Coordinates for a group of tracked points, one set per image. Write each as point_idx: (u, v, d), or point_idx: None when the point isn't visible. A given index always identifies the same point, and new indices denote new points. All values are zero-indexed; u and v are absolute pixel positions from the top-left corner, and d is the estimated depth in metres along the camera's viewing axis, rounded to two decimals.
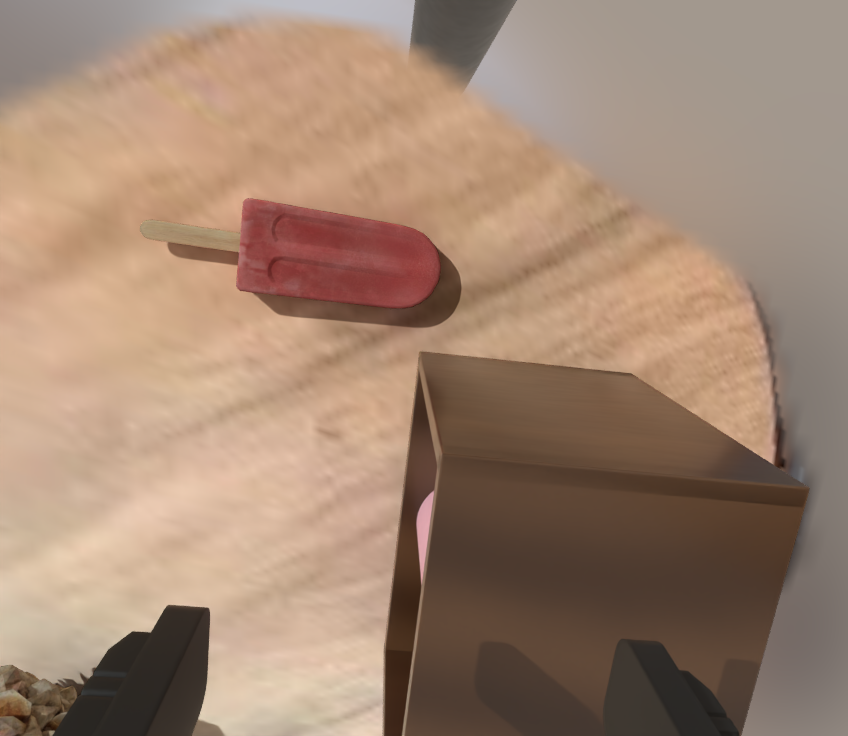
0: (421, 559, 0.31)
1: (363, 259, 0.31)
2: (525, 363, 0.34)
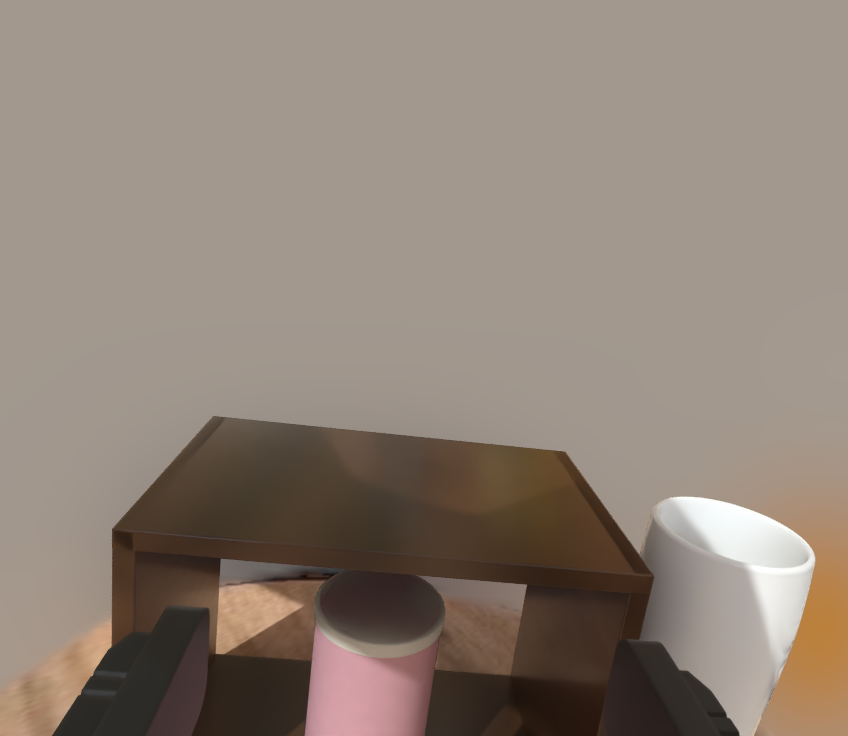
0: None
1: None
2: None
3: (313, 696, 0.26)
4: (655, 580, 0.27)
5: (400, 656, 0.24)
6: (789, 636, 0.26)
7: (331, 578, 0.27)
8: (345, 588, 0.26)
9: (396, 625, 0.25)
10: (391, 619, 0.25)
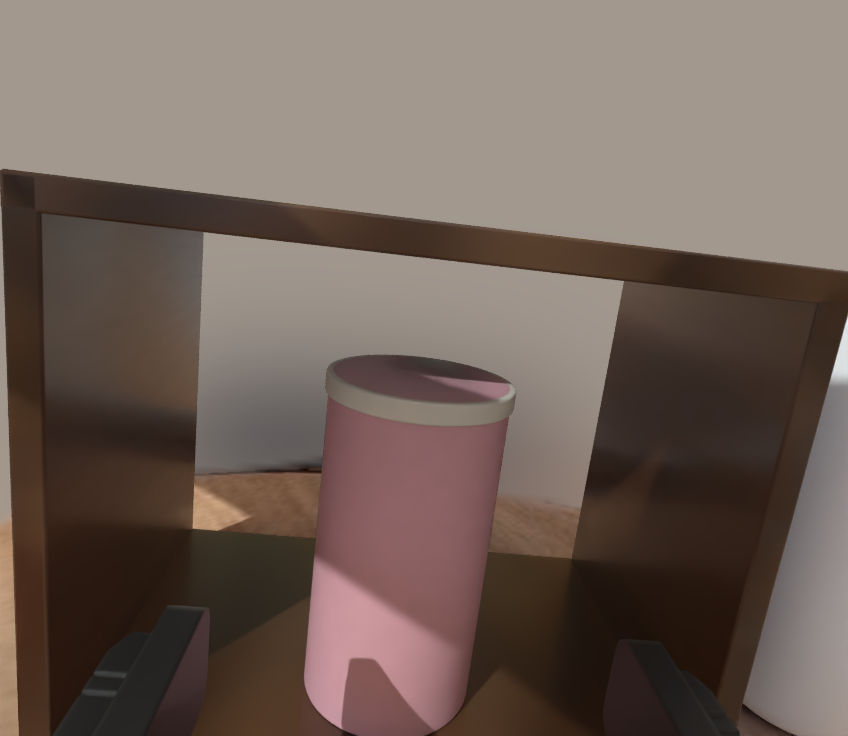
0: (395, 591, 0.17)
1: None
2: None
3: (325, 510, 0.17)
4: None
5: (459, 426, 0.16)
6: None
7: (348, 358, 0.19)
8: (369, 364, 0.18)
9: (449, 392, 0.16)
10: (440, 388, 0.17)
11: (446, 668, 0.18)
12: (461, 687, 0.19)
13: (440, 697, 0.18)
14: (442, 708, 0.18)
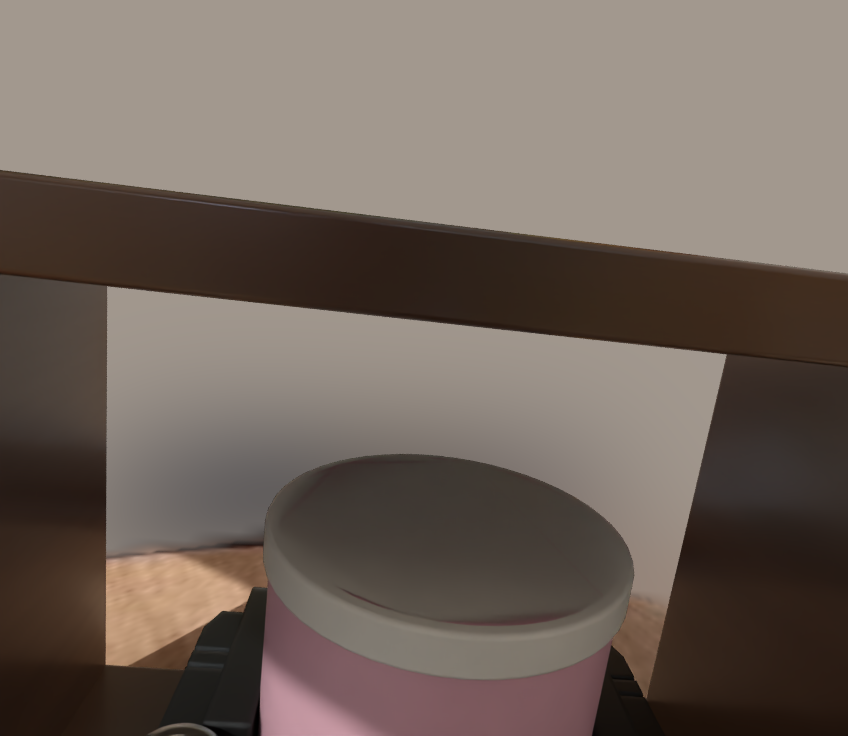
0: None
1: None
2: None
3: None
4: None
5: (536, 673, 0.07)
6: None
7: (314, 471, 0.11)
8: (351, 490, 0.10)
9: (509, 578, 0.08)
10: (489, 561, 0.08)
11: None
12: None
13: None
14: None
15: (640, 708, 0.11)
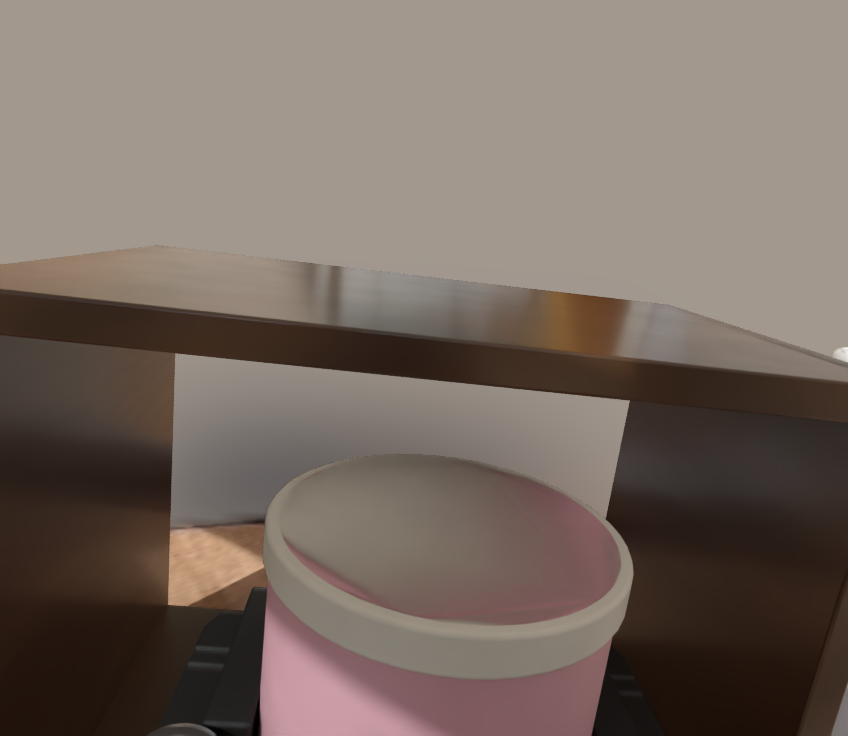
0: None
1: None
2: None
3: None
4: None
5: (535, 673, 0.07)
6: None
7: (314, 471, 0.11)
8: (350, 491, 0.10)
9: (508, 578, 0.08)
10: (489, 561, 0.08)
11: None
12: None
13: None
14: None
15: (640, 708, 0.11)
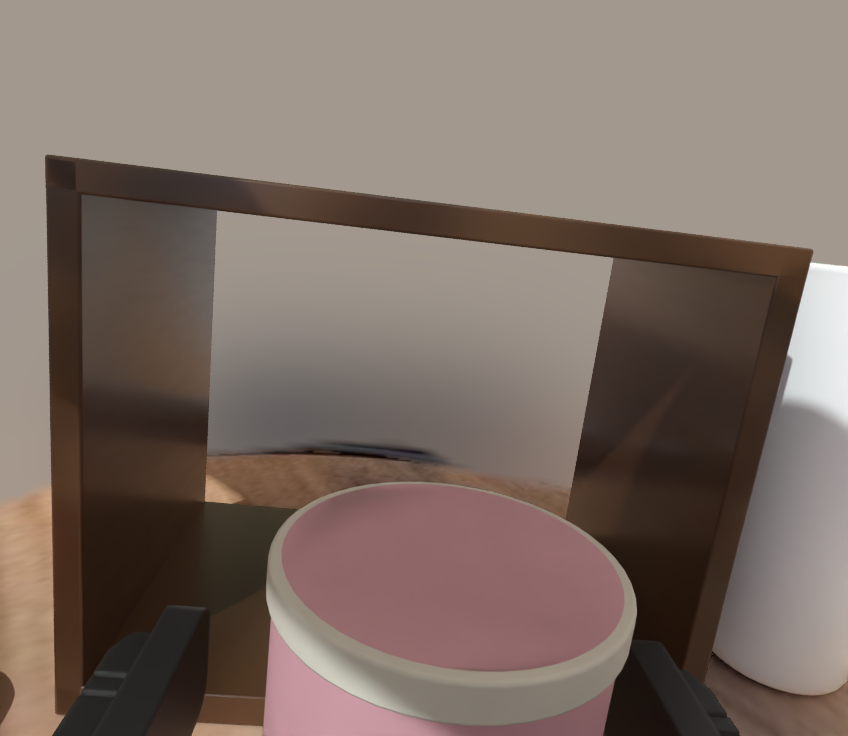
0: None
1: None
2: None
3: None
4: None
5: (539, 718, 0.07)
6: None
7: (317, 502, 0.11)
8: (353, 523, 0.10)
9: (512, 619, 0.08)
10: (492, 600, 0.08)
11: None
12: None
13: None
14: None
15: None
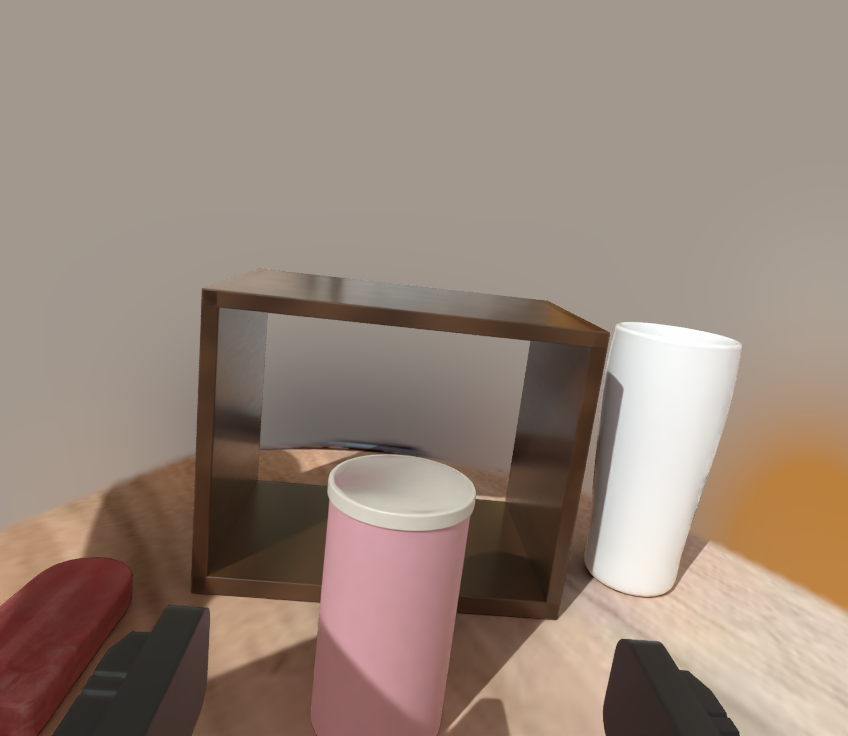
0: (380, 653, 0.21)
1: (57, 599, 0.27)
2: None
3: (327, 587, 0.22)
4: (617, 371, 0.34)
5: (427, 530, 0.21)
6: (721, 405, 0.33)
7: (346, 461, 0.24)
8: (362, 469, 0.23)
9: (421, 500, 0.21)
10: (415, 495, 0.22)
11: (422, 709, 0.23)
12: (434, 723, 0.24)
13: (416, 732, 0.23)
14: None
15: None
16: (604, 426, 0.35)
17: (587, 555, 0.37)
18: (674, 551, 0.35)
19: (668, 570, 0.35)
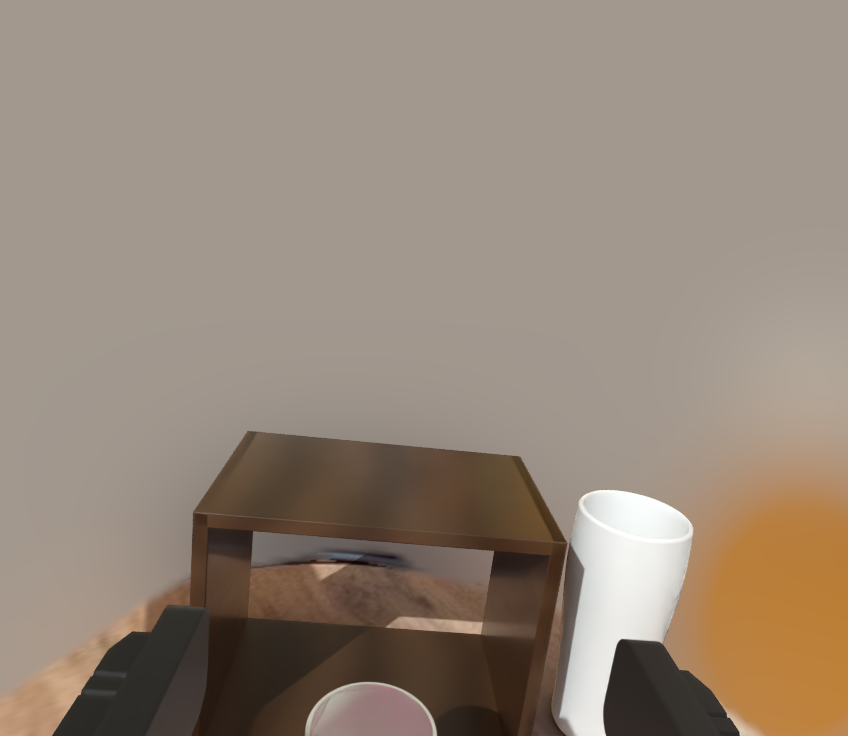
0: None
1: None
2: None
3: None
4: (579, 551, 0.37)
5: None
6: (673, 589, 0.35)
7: (322, 700, 0.27)
8: (336, 713, 0.26)
9: None
10: None
11: None
12: None
13: None
14: None
15: None
16: (568, 596, 0.38)
17: (553, 706, 0.40)
18: None
19: None
